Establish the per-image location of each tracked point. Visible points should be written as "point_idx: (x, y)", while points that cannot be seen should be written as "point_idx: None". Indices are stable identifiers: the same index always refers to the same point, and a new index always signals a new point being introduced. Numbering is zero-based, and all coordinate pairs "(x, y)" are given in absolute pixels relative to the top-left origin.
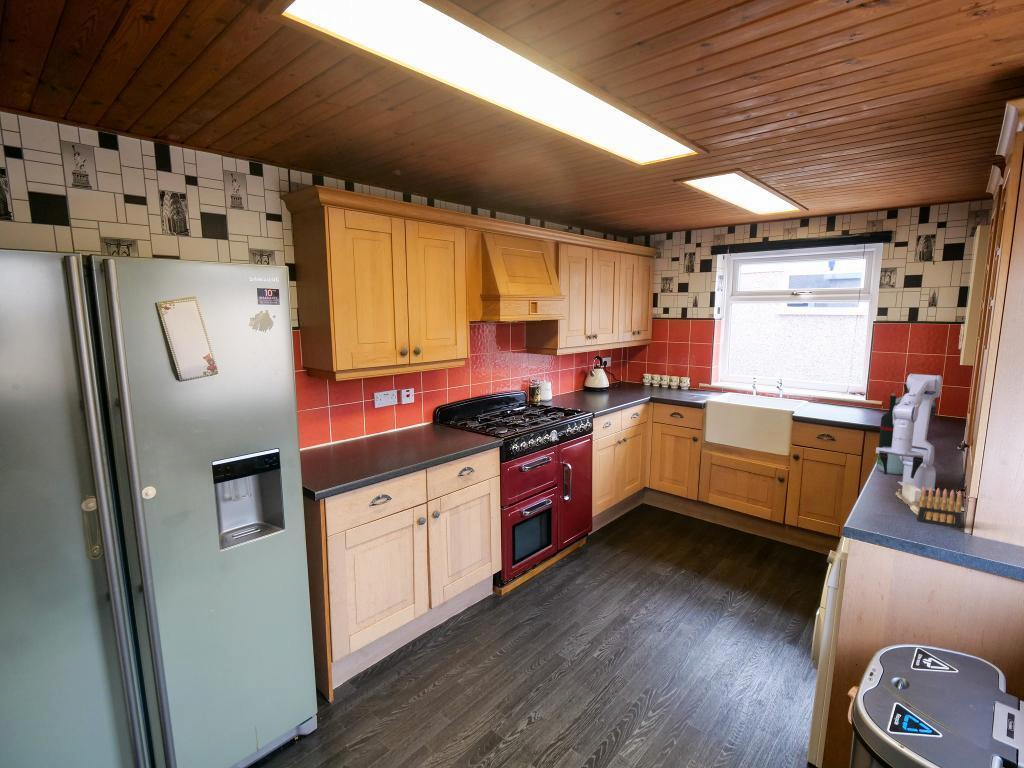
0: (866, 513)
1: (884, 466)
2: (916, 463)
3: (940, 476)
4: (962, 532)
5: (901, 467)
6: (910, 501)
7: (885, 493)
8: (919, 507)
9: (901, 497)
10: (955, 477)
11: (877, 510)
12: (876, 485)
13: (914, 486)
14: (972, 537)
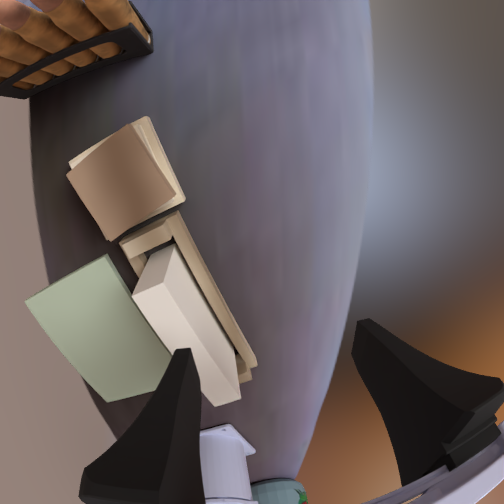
0: (346, 19)
1: (412, 351)
2: (140, 461)
3: None
4: None
5: (254, 498)
6: (192, 281)
7: (289, 350)
8: (133, 11)
9: (232, 320)
10: None
11: (315, 77)
12: (313, 404)
13: None
14: None
